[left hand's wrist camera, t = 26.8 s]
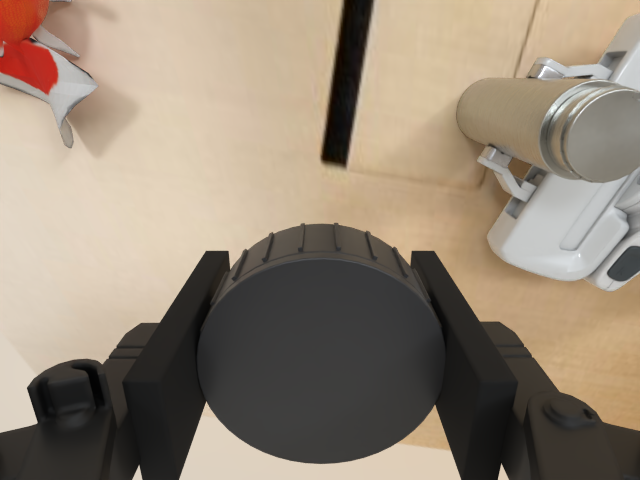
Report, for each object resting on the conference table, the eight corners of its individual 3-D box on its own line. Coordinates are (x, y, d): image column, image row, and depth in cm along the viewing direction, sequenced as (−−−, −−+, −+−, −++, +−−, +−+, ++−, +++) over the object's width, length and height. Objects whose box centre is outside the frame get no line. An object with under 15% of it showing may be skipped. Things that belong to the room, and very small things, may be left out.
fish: (127, -61, 29) (-14, -39, 22) (149, 133, 40) (60, 188, 33) (8, -108, 31) (-156, -101, 24) (61, 90, 42) (-40, 134, 35)
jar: (459, 148, 39) (560, 199, 22) (452, 86, 37) (556, 95, 21) (520, 133, 38) (666, 176, 22) (516, 70, 36) (673, 67, 20)
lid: (388, 421, 14) (400, 485, 12) (198, 380, 14) (175, 439, 11) (460, 253, 12) (492, 293, 10) (237, 195, 11) (217, 224, 9)
